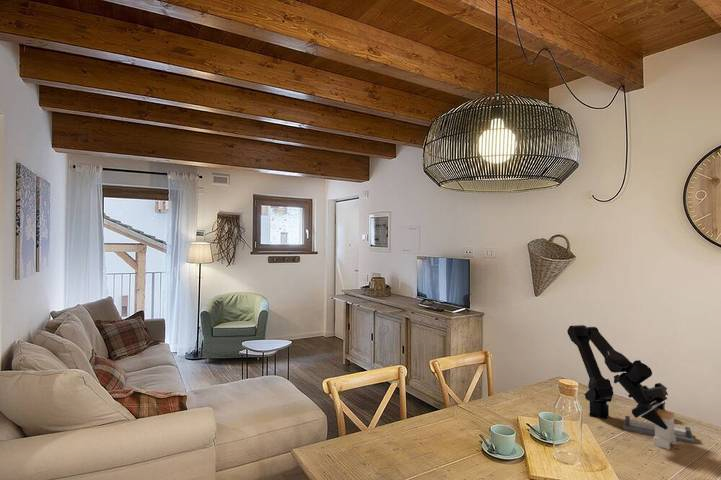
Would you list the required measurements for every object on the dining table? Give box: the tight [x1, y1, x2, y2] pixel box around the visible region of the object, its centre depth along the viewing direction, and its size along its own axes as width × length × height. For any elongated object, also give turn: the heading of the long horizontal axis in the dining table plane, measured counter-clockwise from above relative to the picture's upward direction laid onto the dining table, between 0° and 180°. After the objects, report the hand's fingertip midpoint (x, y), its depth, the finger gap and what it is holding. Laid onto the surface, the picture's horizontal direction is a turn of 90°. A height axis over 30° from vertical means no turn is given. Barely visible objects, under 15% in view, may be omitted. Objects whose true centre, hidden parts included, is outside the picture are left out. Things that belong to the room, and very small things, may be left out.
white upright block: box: [652, 409, 677, 450], centre depth 150 cm, size 4×8×12 cm, turn 126°
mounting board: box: [622, 415, 695, 444], centre depth 160 cm, size 22×8×3 cm, turn 56°
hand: (669, 427), depth 149 cm, fingers closed on white upright block, 4 cm apart
